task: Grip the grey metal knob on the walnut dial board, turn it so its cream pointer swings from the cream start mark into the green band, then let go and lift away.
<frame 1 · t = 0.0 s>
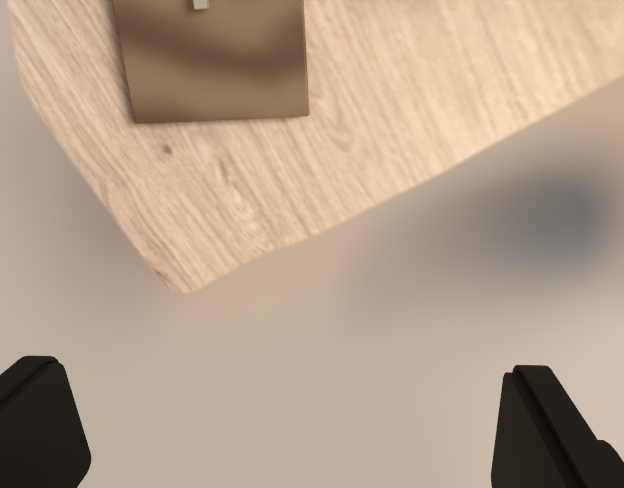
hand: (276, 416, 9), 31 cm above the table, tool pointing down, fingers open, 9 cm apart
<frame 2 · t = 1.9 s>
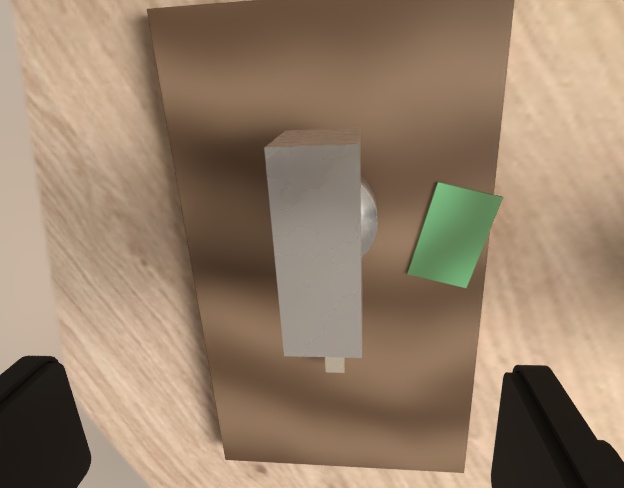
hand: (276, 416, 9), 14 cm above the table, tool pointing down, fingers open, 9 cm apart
dial board: (335, 269, 24), on the table
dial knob: (327, 283, 19), point 5 cm above the table, hinge at 0.0°
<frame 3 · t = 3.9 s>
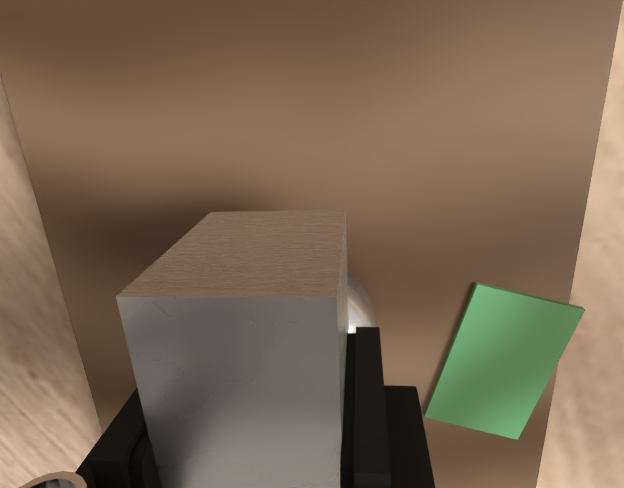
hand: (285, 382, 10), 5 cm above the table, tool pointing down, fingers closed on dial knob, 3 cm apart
dial board: (313, 391, 16), on the table
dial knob: (290, 469, 11), point 5 cm above the table, hinge at 0.0°, touching gripper
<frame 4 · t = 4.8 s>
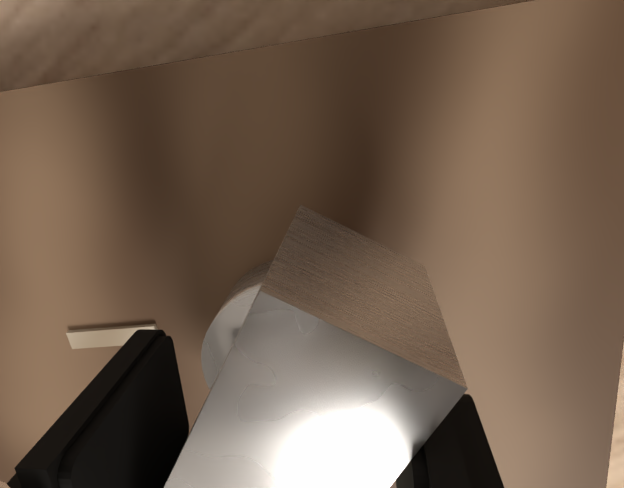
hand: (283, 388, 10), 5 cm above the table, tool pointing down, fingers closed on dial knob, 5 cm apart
dial board: (191, 307, 15), on the table
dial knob: (241, 465, 11), point 5 cm above the table, hinge at 56.2°, touching gripper
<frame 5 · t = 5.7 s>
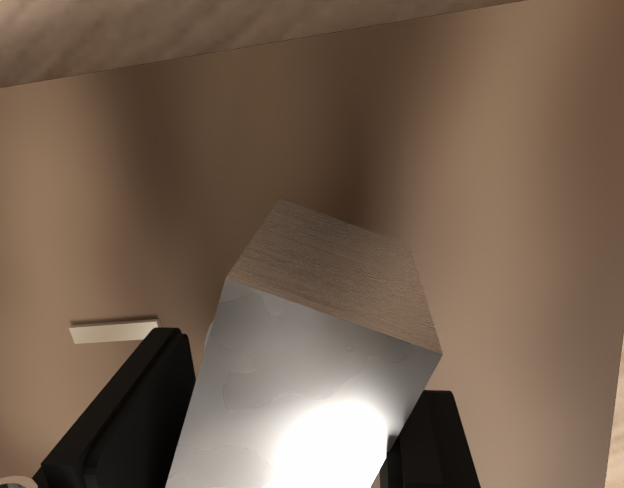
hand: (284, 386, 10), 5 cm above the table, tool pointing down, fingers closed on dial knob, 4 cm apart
dial board: (193, 303, 15), on the table
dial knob: (254, 463, 11), point 5 cm above the table, hinge at 63.3°, touching gripper
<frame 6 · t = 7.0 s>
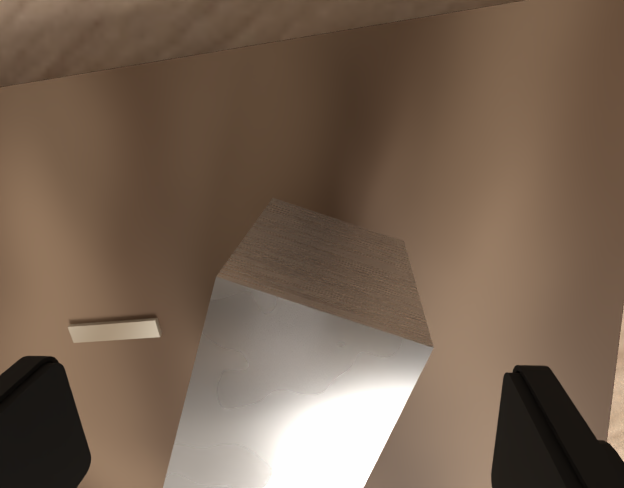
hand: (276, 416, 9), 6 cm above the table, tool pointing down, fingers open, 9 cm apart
dial board: (191, 302, 15), on the table
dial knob: (255, 462, 11), point 5 cm above the table, hinge at 64.7°
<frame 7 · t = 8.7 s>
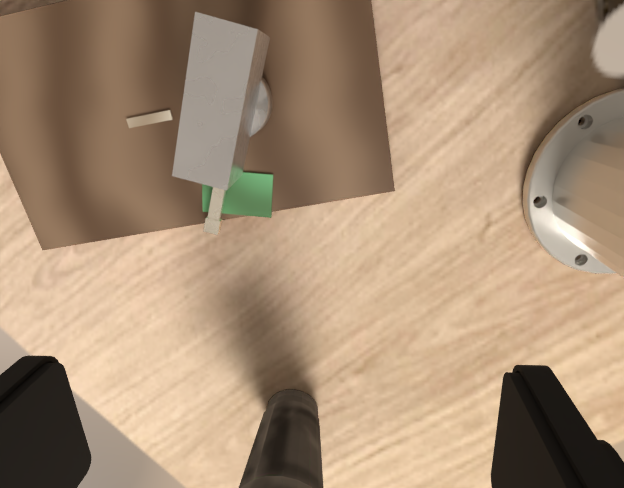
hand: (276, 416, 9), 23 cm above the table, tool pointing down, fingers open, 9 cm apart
beverage cup: (292, 408, 38), on the table
dial board: (186, 111, 29), on the table
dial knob: (219, 145, 25), point 5 cm above the table, hinge at 64.7°
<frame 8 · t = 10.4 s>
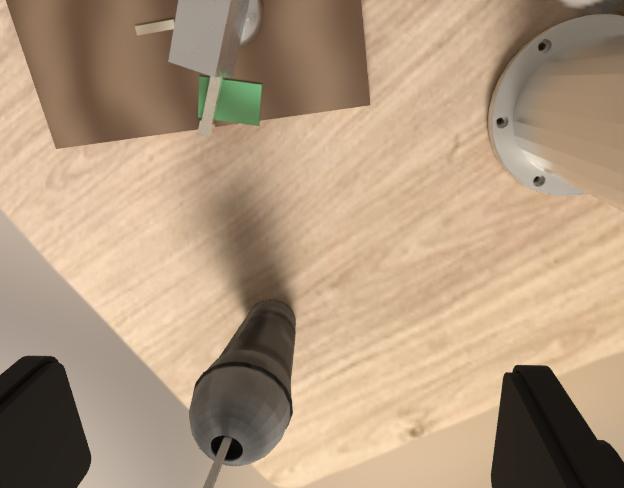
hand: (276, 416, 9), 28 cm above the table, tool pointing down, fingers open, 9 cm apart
beverage cup: (272, 319, 42), on the table
dial board: (189, 25, 33), on the table
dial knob: (212, 45, 29), point 5 cm above the table, hinge at 64.7°
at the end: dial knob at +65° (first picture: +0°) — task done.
